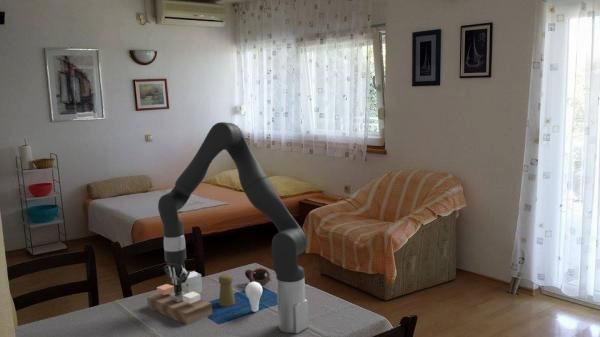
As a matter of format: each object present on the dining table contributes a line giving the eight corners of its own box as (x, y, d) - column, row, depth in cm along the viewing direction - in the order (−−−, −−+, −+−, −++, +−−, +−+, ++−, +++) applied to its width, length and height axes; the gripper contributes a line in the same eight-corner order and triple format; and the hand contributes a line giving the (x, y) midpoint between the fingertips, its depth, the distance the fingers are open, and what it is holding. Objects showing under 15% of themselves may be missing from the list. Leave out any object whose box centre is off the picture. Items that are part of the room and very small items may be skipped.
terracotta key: (174, 291, 194) (173, 286, 193) (164, 295, 190) (163, 290, 190) (167, 288, 196) (166, 283, 196) (157, 292, 193) (156, 287, 193)
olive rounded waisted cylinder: (236, 299, 197) (235, 272, 195) (233, 306, 191) (231, 277, 189) (221, 299, 197) (219, 272, 196) (217, 306, 191) (215, 277, 190)
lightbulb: (253, 306, 190) (251, 278, 188) (266, 310, 187) (265, 280, 185) (243, 313, 185) (241, 283, 183) (257, 316, 182) (255, 286, 180)
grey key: (187, 298, 188) (186, 293, 188) (177, 302, 185) (176, 296, 185) (180, 295, 191) (179, 290, 191) (169, 299, 188) (169, 294, 188)
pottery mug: (275, 282, 215) (275, 269, 209) (264, 299, 208) (263, 286, 203) (250, 272, 219) (249, 259, 213) (238, 289, 212) (237, 276, 207)
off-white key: (200, 299, 183) (200, 294, 183) (190, 303, 180) (190, 298, 179) (193, 296, 186) (192, 291, 186) (182, 300, 183) (182, 295, 182)
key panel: (212, 313, 185) (211, 303, 185) (187, 324, 177) (186, 313, 176) (172, 298, 201) (172, 288, 200) (147, 307, 193) (147, 297, 192)
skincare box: (181, 292, 207) (180, 274, 206) (195, 287, 211) (194, 270, 210) (189, 296, 202) (187, 278, 201) (202, 292, 206) (201, 274, 205)
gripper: (194, 248, 184) (197, 294, 186) (172, 241, 193) (176, 286, 195) (177, 253, 178) (180, 301, 181) (155, 246, 187) (158, 292, 190)
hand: (178, 293), depth 188 cm, fingers closed
